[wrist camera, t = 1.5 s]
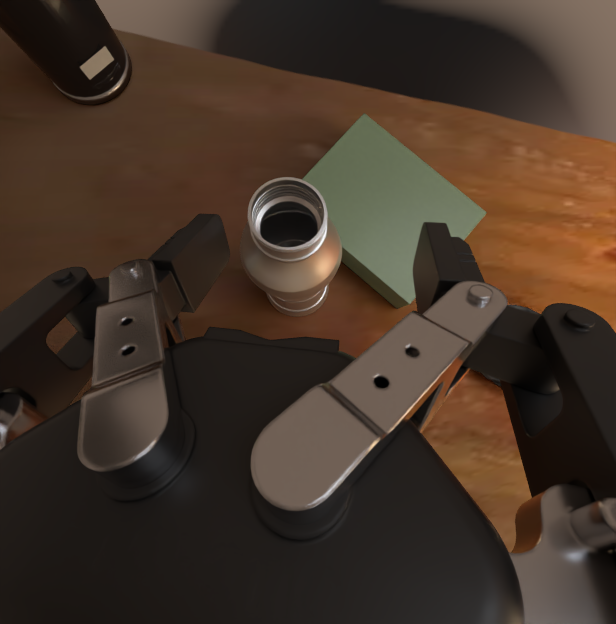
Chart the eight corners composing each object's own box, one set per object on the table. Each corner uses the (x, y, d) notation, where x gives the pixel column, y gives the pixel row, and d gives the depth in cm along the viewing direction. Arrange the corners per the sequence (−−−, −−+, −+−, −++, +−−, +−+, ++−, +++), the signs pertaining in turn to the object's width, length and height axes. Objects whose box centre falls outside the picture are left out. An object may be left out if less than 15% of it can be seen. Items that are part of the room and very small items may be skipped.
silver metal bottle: (323, 321, 33) (354, 290, 13) (264, 314, 33) (204, 273, 13) (329, 266, 33) (368, 156, 14) (271, 260, 33) (225, 139, 14)
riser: (286, 214, 34) (284, 197, 30) (357, 138, 35) (364, 112, 31) (396, 308, 33) (409, 304, 29) (465, 227, 34) (487, 212, 30)
